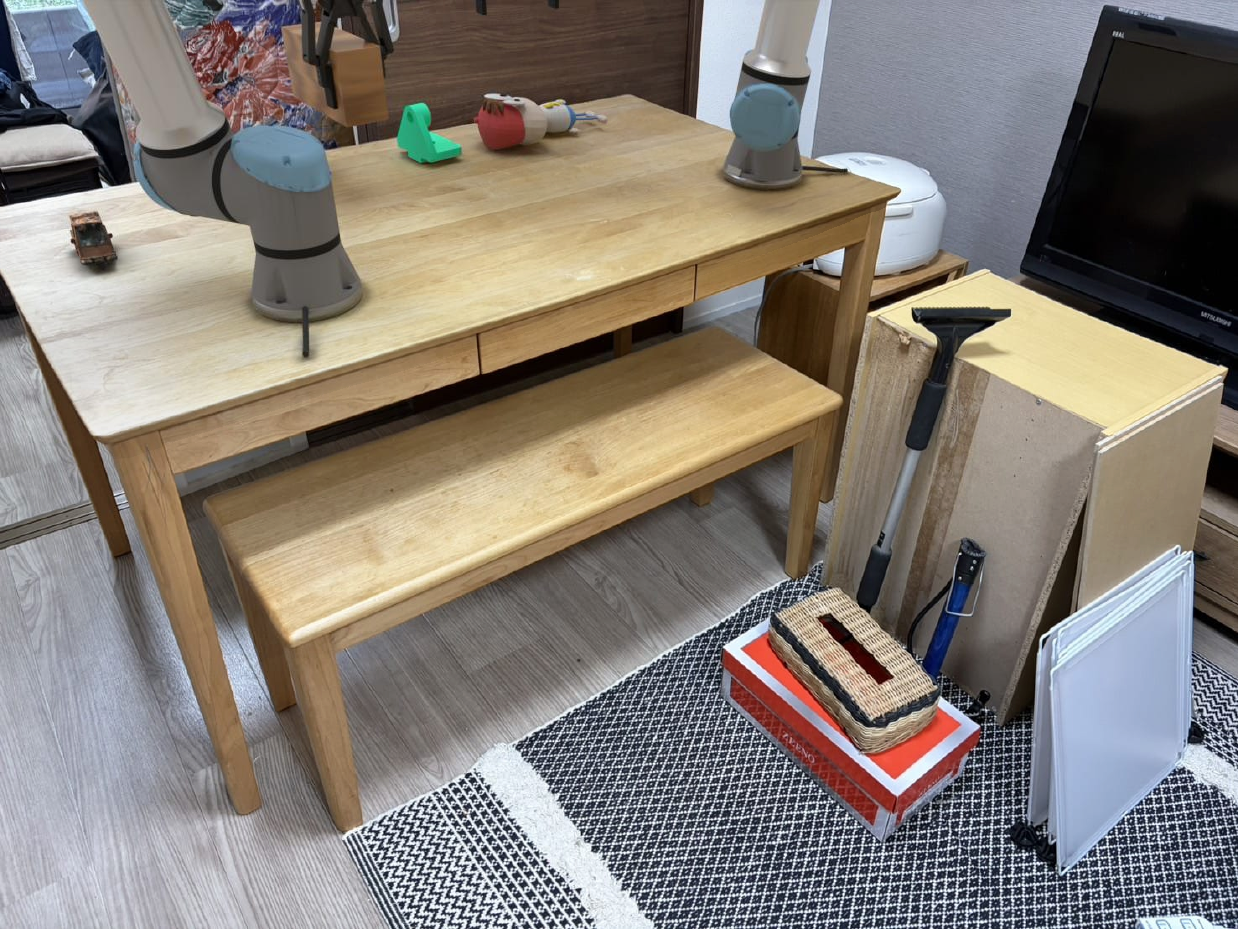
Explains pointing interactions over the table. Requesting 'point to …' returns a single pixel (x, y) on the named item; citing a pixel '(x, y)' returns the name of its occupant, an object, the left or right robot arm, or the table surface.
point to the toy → (524, 120)
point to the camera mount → (423, 137)
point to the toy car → (91, 239)
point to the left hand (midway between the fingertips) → (355, 102)
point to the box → (340, 77)
